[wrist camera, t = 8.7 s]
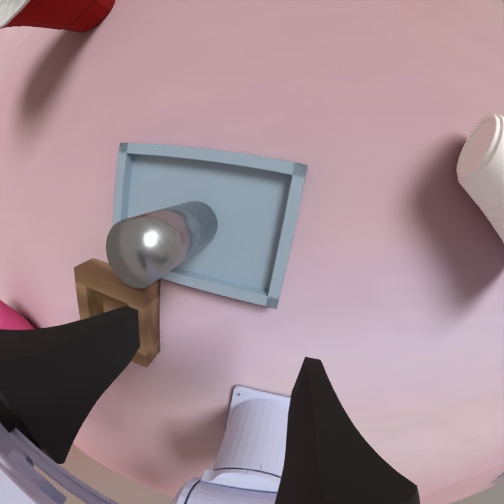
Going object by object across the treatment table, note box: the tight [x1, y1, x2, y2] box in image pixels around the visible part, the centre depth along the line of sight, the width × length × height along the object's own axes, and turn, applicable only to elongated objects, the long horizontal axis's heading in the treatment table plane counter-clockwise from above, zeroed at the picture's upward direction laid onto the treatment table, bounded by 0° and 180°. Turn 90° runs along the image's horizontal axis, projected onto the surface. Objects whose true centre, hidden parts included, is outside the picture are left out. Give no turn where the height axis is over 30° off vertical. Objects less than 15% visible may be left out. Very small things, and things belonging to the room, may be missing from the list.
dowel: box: [106, 201, 218, 288], centre depth 16 cm, size 3×3×8 cm
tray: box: [113, 143, 307, 309], centre depth 19 cm, size 10×14×2 cm
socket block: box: [74, 258, 160, 367], centre depth 23 cm, size 8×8×3 cm
